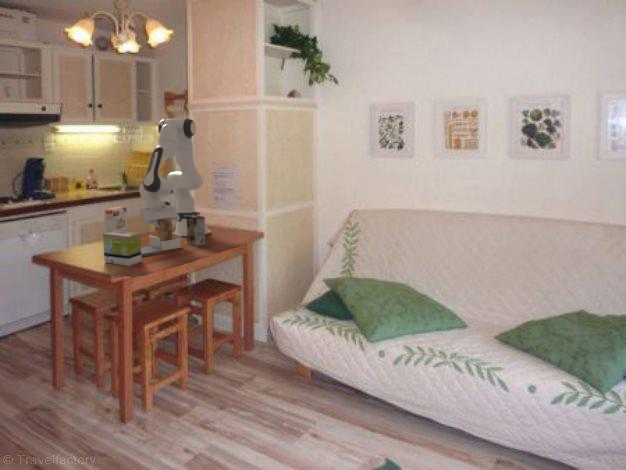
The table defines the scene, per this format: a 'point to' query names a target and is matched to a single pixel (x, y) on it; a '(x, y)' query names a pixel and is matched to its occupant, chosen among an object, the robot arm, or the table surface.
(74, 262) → the table surface
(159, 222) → the walnut box
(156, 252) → the plate
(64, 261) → the table surface
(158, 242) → the white open bin
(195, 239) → the coffee box
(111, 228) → the cracker box
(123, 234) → the tea box
